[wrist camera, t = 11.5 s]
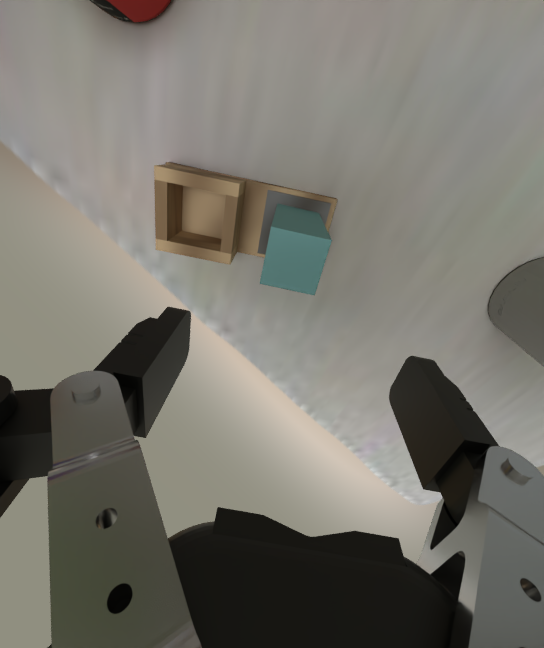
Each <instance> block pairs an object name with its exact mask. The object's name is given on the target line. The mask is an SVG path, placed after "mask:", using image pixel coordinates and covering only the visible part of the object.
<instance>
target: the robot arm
mask: <svg viewBox="0 0 544 648" xmlns="http://www.w3.org/2000/svg"><path fill="white" fill-rule="evenodd" d="M489 316H490V319H491V321H492V322H493V324H494V325H495V326H496V327H498V328H499V329H500V330H501V331H502V332H503V333H505V334H506V335H507V336H508V337H509V338H511V339H512V340H513V341H514V342H515V343H516V344H518V345H519V346H520V347H521V348H522V349H523V350H524V351H526V352H527V353H528V354H529V355H530V356H532V357H533V358H534V359H535V360H536V361H537V362H539V363H540V364H541V365H542V366H543V367H544V258H540V259H537V260H534V261H531V262H528V263H526V264H524V265H522V266H521V267H519V268H517V269H516V270H514V271H513V272H512V273H510V274H509V275H508V276H507V277H506V278H505V279H504V280H502V281H501V283H500V284H499V285H498V287H497V288H496V289H495V291H494V293H493V295H492V297H491V299H490V303H489ZM190 322H191V313H190V311H187V310H182V309H177V308H172V307H167V308H166V309H165V310H164V312H163V313H162V314H161V315H160V316H159V318H158V319H155V318H148V319H146V320H144V321H142V322H140V323H138V324H136V325H135V326H134V328H132V330H131V331H130V332H129V333H128V335H126V336H125V337H124V338H123V339H122V341H121V343H118V345H117V346H116V347H115V348H114V349H113V350H112V351H111V352H110V353H109V354H108V355H107V356H106V357H105V359H104V360H103V361H102V362H101V363H100V364H99V365H98V366H97V367H96V368H95V369H94V370H93V371H86V372H81V373H77V374H75V375H72V376H70V377H68V378H66V379H64V380H62V381H61V382H60V383H59V384H58V385H57V386H56V387H55V388H53V389H39V390H21V391H14V390H13V387H12V384H11V382H10V380H9V379H8V378H6V377H4V376H2V375H0V517H1V516H2V515H3V513H4V512H5V511H6V509H7V508H8V507H9V505H10V504H11V503H12V501H13V500H14V499H15V497H16V496H17V495H18V493H19V492H20V491H21V489H22V488H23V486H24V485H25V484H26V483H27V481H28V480H29V478H36V477H43V476H48V519H49V520H48V523H49V560H50V599H51V638H52V644H51V645H50V646H49V647H48V648H544V476H543V475H542V474H541V472H540V471H539V470H538V469H537V468H536V467H535V466H534V465H533V464H532V463H530V462H529V461H528V460H527V459H525V458H524V457H522V456H521V455H519V454H518V453H516V452H514V451H512V450H510V449H507V448H504V447H500V446H499V445H498V444H497V442H496V441H495V439H494V438H493V437H492V435H491V434H490V432H489V431H488V430H487V428H486V427H485V425H484V424H483V422H482V421H481V420H480V418H479V417H478V415H477V414H476V412H473V408H472V407H471V405H470V404H469V402H467V401H466V398H465V397H464V395H463V394H462V393H461V391H460V390H459V388H458V387H457V386H456V385H455V384H453V383H452V382H451V381H450V380H449V379H448V378H447V377H446V376H444V374H443V373H442V371H441V370H440V368H439V367H438V365H437V364H436V363H435V361H433V360H430V359H425V358H420V357H415V356H410V357H408V358H407V359H406V361H405V363H404V364H403V366H402V368H401V370H400V372H399V374H398V375H397V377H396V379H395V381H394V383H393V385H392V386H391V389H390V394H389V400H390V404H391V407H392V409H393V412H394V415H395V417H396V420H397V422H398V425H399V428H400V430H401V433H402V435H403V438H404V440H405V443H406V446H407V448H408V451H409V453H410V456H411V459H412V461H413V464H414V466H415V469H416V472H417V474H418V477H419V479H420V482H421V485H422V487H423V489H425V490H430V491H436V492H441V495H442V497H443V498H442V499H441V501H440V502H439V503H438V505H437V507H436V510H435V513H434V516H433V519H432V522H431V526H430V528H429V532H428V535H427V538H426V541H425V544H424V547H423V550H422V553H421V556H420V557H419V559H418V561H417V563H416V564H415V563H414V562H412V561H410V560H409V559H407V558H405V557H403V553H402V550H401V546H400V542H399V539H398V538H392V537H387V536H381V535H376V534H370V533H364V532H358V531H351V532H344V533H338V534H331V535H324V536H317V537H309V536H306V535H304V534H302V533H299V532H297V531H295V530H293V529H291V528H289V527H287V526H285V525H283V524H281V523H279V522H277V521H274V520H272V519H270V518H268V517H266V516H264V515H260V514H254V513H248V512H243V511H237V510H231V509H225V508H220V507H218V508H217V513H216V518H215V521H214V522H207V523H202V524H198V525H195V526H192V527H189V528H187V529H185V530H182V531H180V532H178V533H177V534H175V535H173V536H171V537H170V538H167V535H166V532H165V528H164V525H163V521H162V518H161V514H160V511H159V508H158V504H157V501H156V497H155V494H154V491H153V487H152V484H151V480H150V477H149V474H148V471H147V467H146V464H145V460H144V457H143V453H142V450H141V447H140V444H139V442H138V441H137V440H135V439H134V436H138V437H144V438H146V436H147V435H148V433H149V431H150V429H151V427H152V425H153V423H154V421H155V419H156V417H157V416H158V414H159V412H160V410H161V408H162V406H163V404H164V402H165V400H166V398H167V396H168V395H169V393H170V391H171V388H172V387H173V385H174V383H175V381H176V379H177V377H178V376H179V373H180V372H181V370H182V368H183V366H184V364H185V362H186V359H187V356H188V352H189V341H190Z"/></svg>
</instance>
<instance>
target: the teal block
mask: <svg viewBox="0 0 544 648" xmlns="http://www.w3.org/2000/svg"><path fill="white" fill-rule="evenodd" d="M331 241H332V240H331V238H330V236H329V233H328V231H327V229H326V227H325V225H324V223H323V221H322V219H321V216H320V214H319V213H317V212H312V211H308V210H304V209H299V208H295V207H291V206H286V205H282V204H277V207H276V211H275V214H274V218H273V222H272V225H271V230H270V235H269V240H268V245H267V250H266V255H265V260H264V265H263V270H262V275H261V280H260V284H264V285H269V286H273V287H278V288H283V289H287V290H292V291H297V292H301V293H306V294H310V295H315V292H316V289H317V286H318V283H319V279H320V276H321V273H322V270H323V267H324V263H325V260H326V257H327V254H328V251H329V247H330V244H331Z"/></svg>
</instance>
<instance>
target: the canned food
mask: <svg viewBox="0 0 544 648" xmlns="http://www.w3.org/2000/svg"><path fill="white" fill-rule="evenodd" d="M90 1H92V2H93V3H94V4H95V5H97V6H98V7H99V8H101V9H102V10H103V11H105V12H107V13H108V14H110V15H111V16H113V17H115V18H117V19H120V20H123V21H128V22H143V21H148V20H151V19H153V18H155V17H157V16H158V15H159V14H161V13H162V12H163V11H164V10H165V9H166V7H167V6H168V5H169V3H170V2H171V0H90Z"/></svg>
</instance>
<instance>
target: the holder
mask: <svg viewBox="0 0 544 648" xmlns="http://www.w3.org/2000/svg"><path fill="white" fill-rule="evenodd" d="M154 176H155V227H156V250H160V251H165V252H170V253H175V254H180V255H185V256H190V257H195V258H200V259H205V260H210V261H215V262H220V263H225V264H231V262H232V260H233V258H234V257H235V255H236V253H237V252H240V253H245V254H250V255H255V256H260V257H265V255H266V250H267V245H268V240H269V235H270V230H271V225H272V222H273V218H274V214H275V211H276V207H277V204H282V205H286V206H291V207H295V208H299V209H304V210H308V211H312V212H317V213H319V214H320V216H321V219H322V221H323V223H324V225H325V227H326V229H327V231H329V228H330V224H331V221H332V217H333V214H334V210H335V207H336V203H337V199H336V198H332V197H327V196H323V195H318V194H314V193H309V192H304V191H300V190H295V189H291V188H286V187H281V186H277V185H272V184H268V183H263V182H258V181H254V180H249V179H245V178H240V177H235V176H231V175H226V174H221V173H217V172H212V171H208V170H203V169H198V168H194V167H189V166H185V165H180V164H175V163H171V162H167V163H166V165H154Z"/></svg>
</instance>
